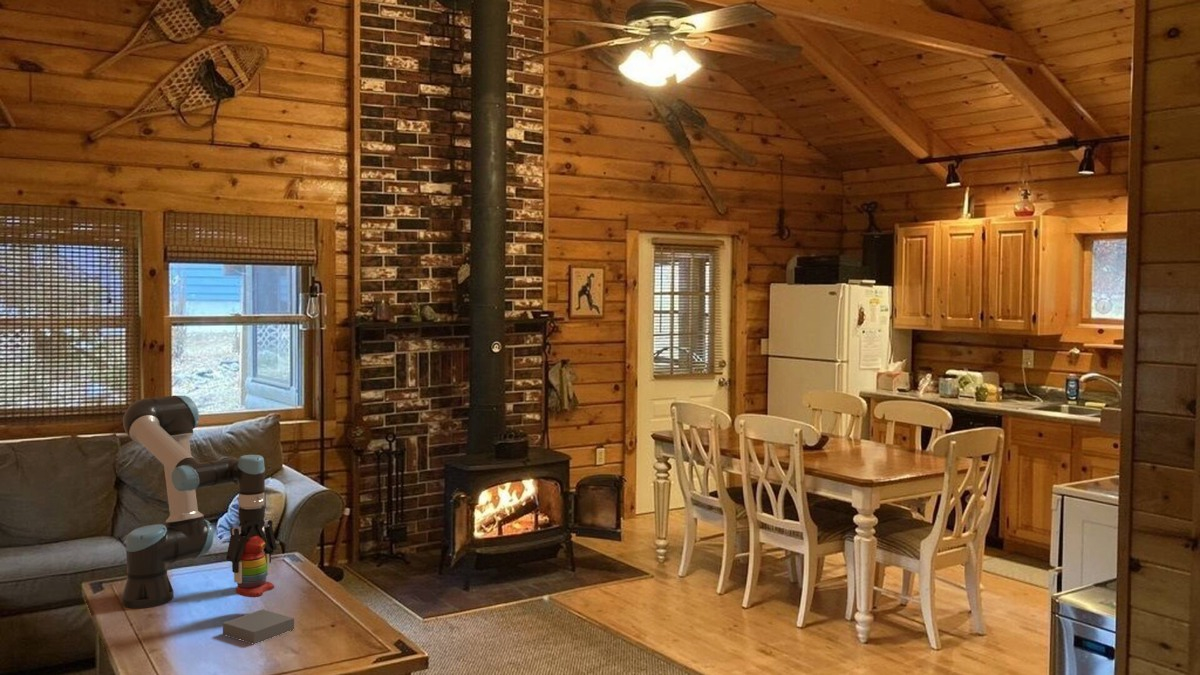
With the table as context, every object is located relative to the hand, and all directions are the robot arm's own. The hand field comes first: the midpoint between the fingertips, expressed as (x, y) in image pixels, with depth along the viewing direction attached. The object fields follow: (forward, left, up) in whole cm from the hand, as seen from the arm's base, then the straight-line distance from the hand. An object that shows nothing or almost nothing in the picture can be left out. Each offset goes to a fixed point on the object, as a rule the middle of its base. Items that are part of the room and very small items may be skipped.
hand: (252, 578), depth 301 cm
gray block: (+14, -9, -12) cm, 21 cm away
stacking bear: (0, 0, -4) cm, 4 cm away
